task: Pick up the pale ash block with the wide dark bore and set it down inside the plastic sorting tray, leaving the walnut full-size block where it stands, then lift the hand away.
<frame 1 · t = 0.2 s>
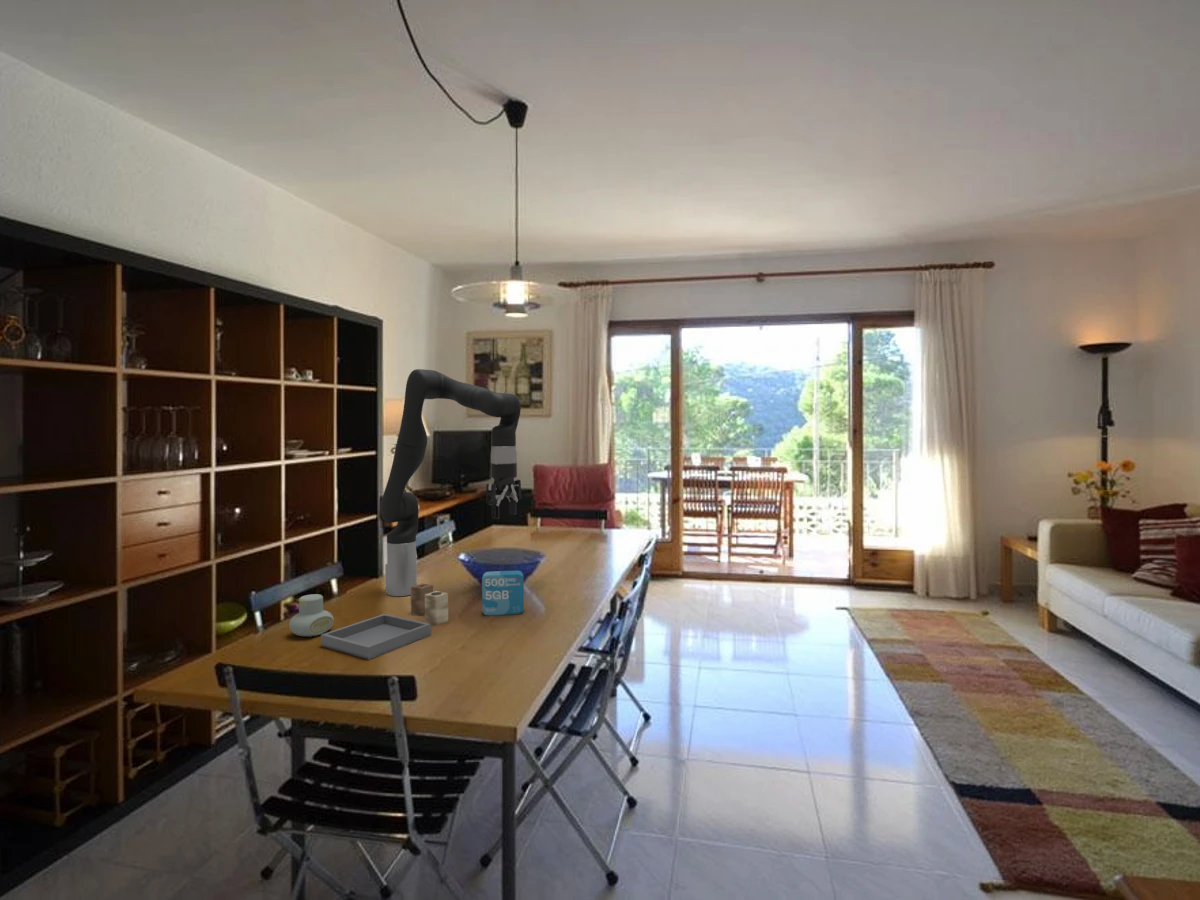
hand: (504, 516, 184), 29 cm above the table, tool pointing down, fingers open, 8 cm apart
full-size block: (422, 612, 187), on the table
sorting tray: (377, 640, 163), on the table
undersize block: (436, 621, 178), on the table
air freshener: (312, 634, 169), on the table
data package: (503, 613, 186), on the table
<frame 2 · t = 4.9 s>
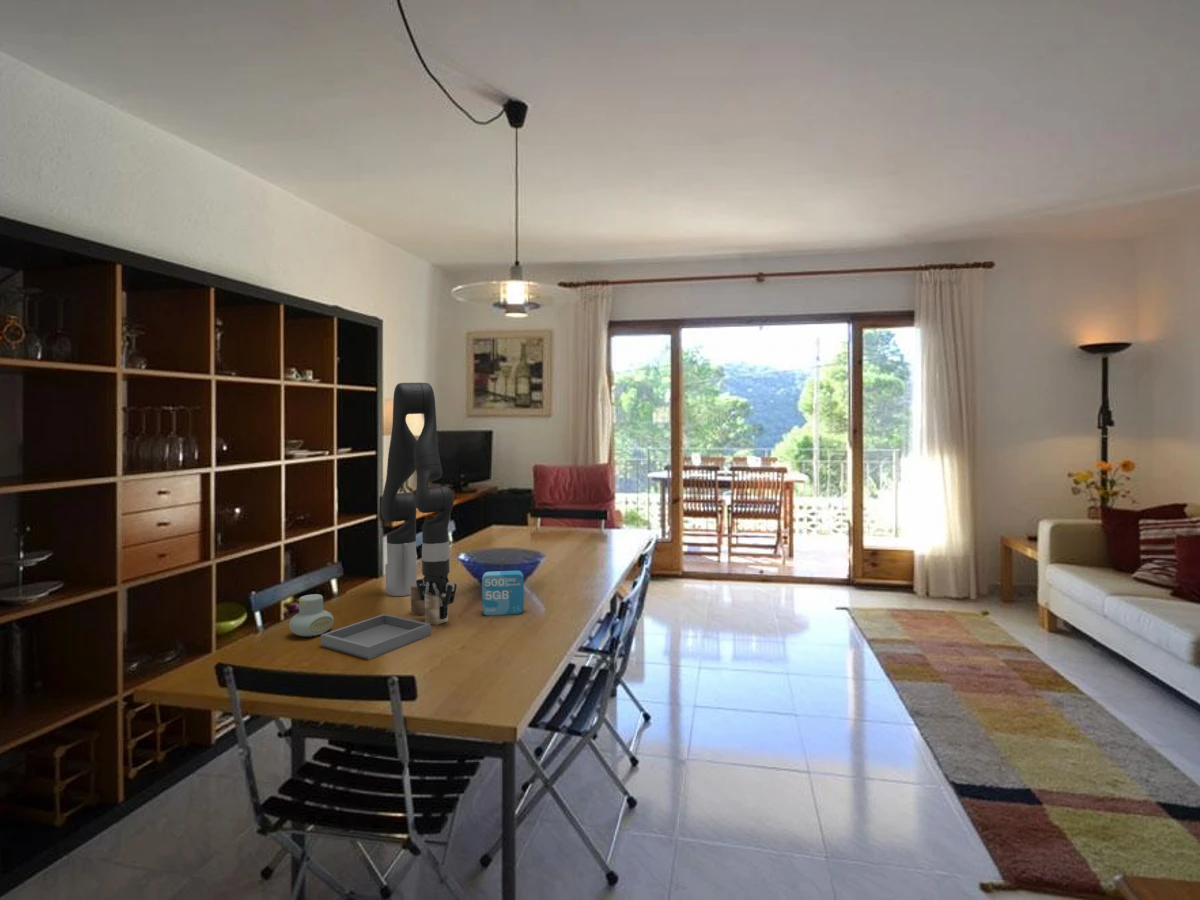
hand: (436, 616, 178), 1 cm above the table, tool pointing down, fingers closed on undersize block, 4 cm apart
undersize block: (436, 621, 178), on the table, touching gripper
everything else where it was.
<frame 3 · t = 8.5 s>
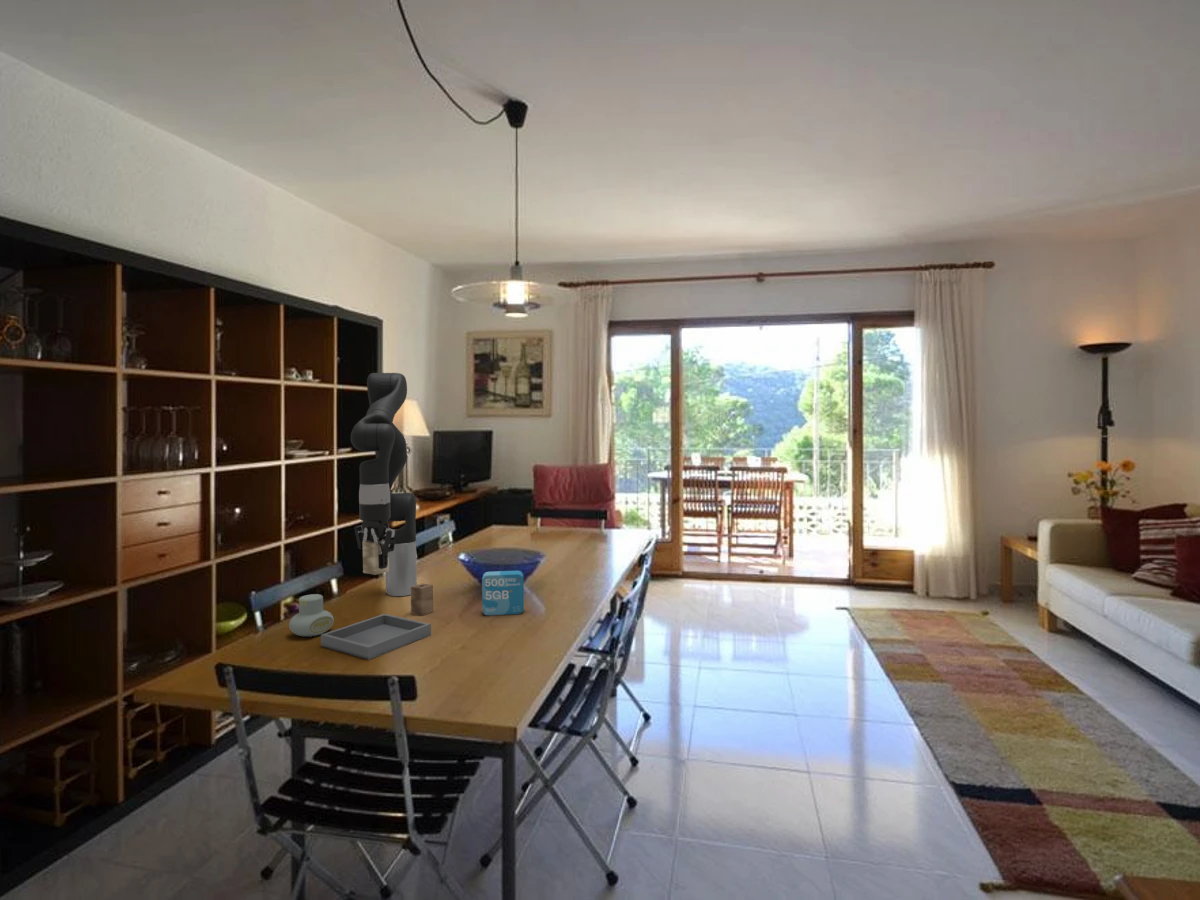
hand: (376, 566, 162), 19 cm above the table, tool pointing down, fingers closed on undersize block, 4 cm apart
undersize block: (376, 571, 162), point 18 cm above the table, touching gripper
everything else where it was.
when the fingers open (3 cm above the table, at t = 12.3 s): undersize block drops 1 cm, resting on sorting tray.
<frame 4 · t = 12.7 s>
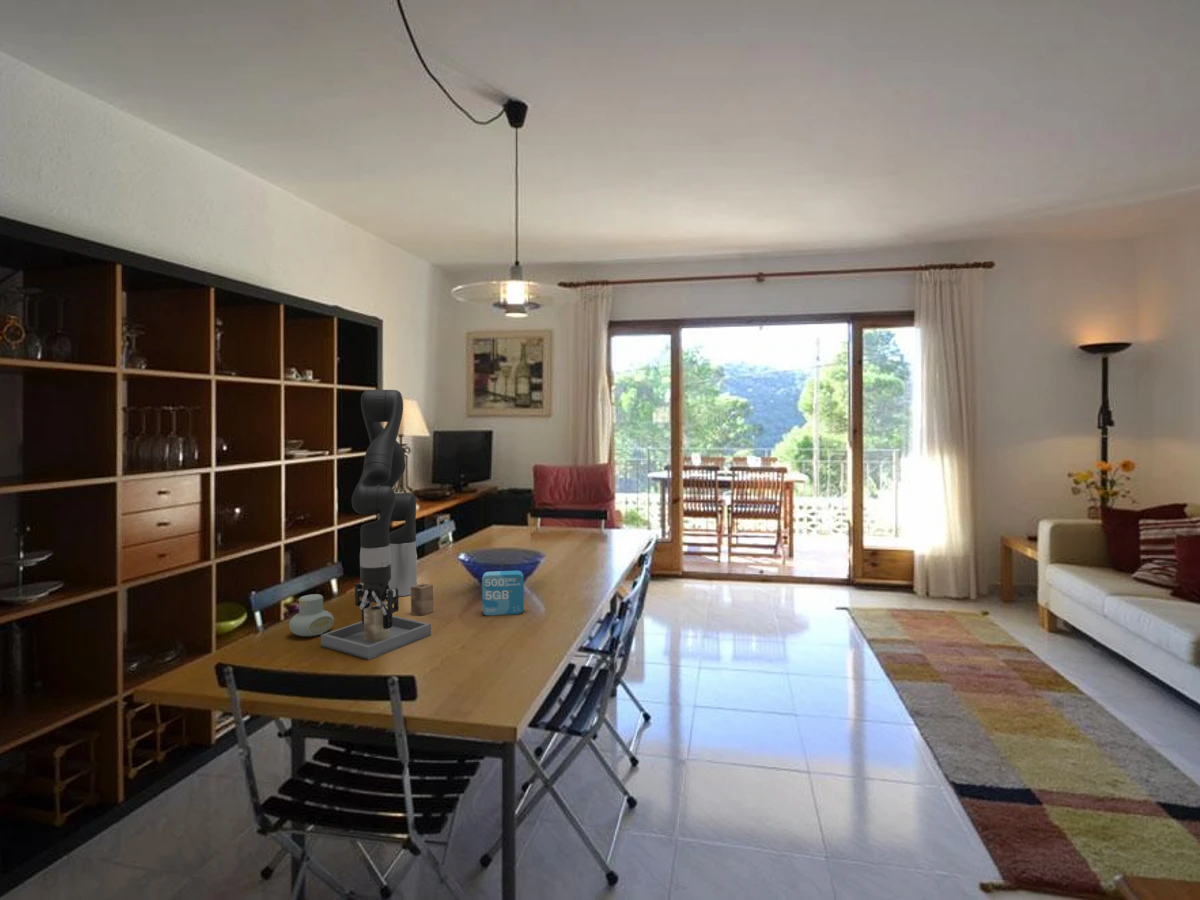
hand: (377, 625, 163), 4 cm above the table, tool pointing down, fingers open, 7 cm apart
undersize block: (377, 638, 163), point 1 cm above the table, touching sorting tray
everything else where it was.
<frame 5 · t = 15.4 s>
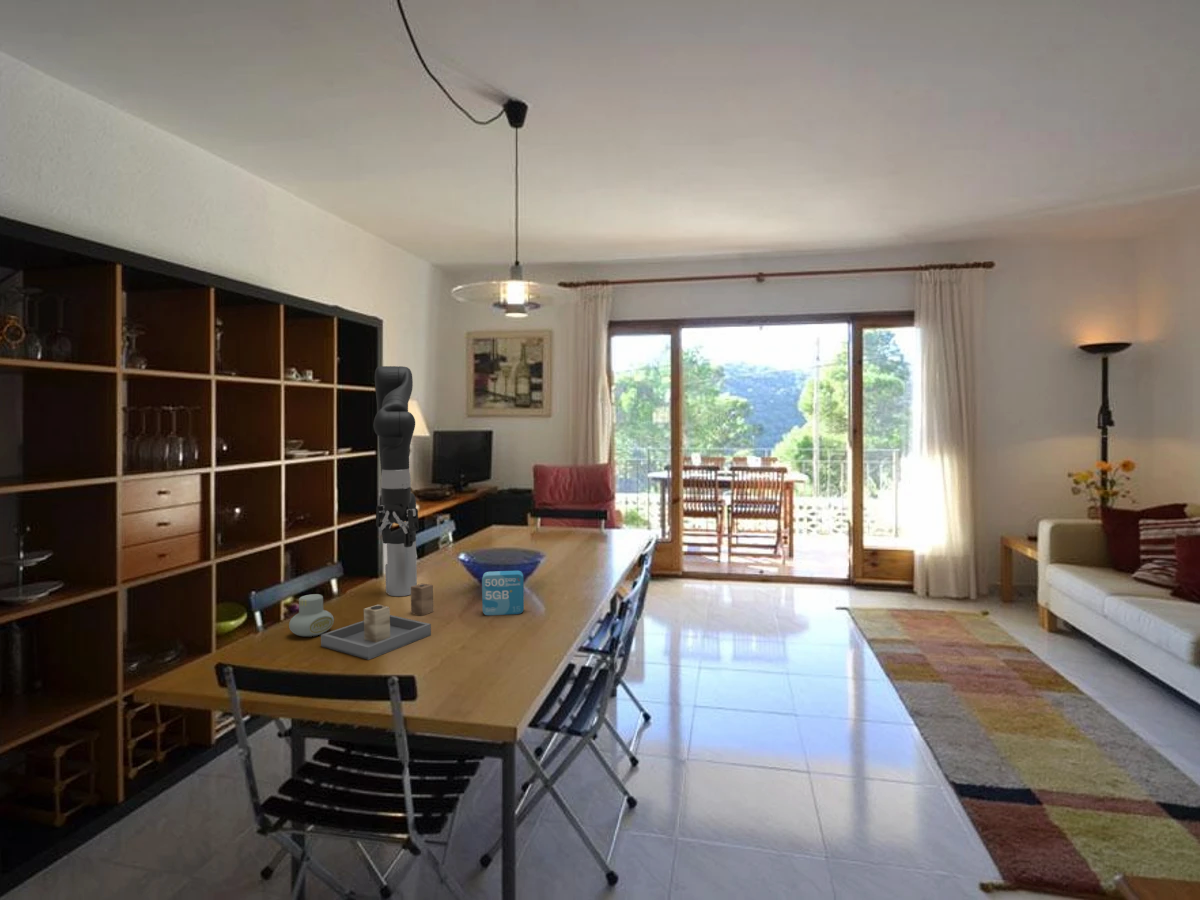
hand: (397, 544, 171), 23 cm above the table, tool pointing down, fingers open, 8 cm apart
nothing on the table moved.
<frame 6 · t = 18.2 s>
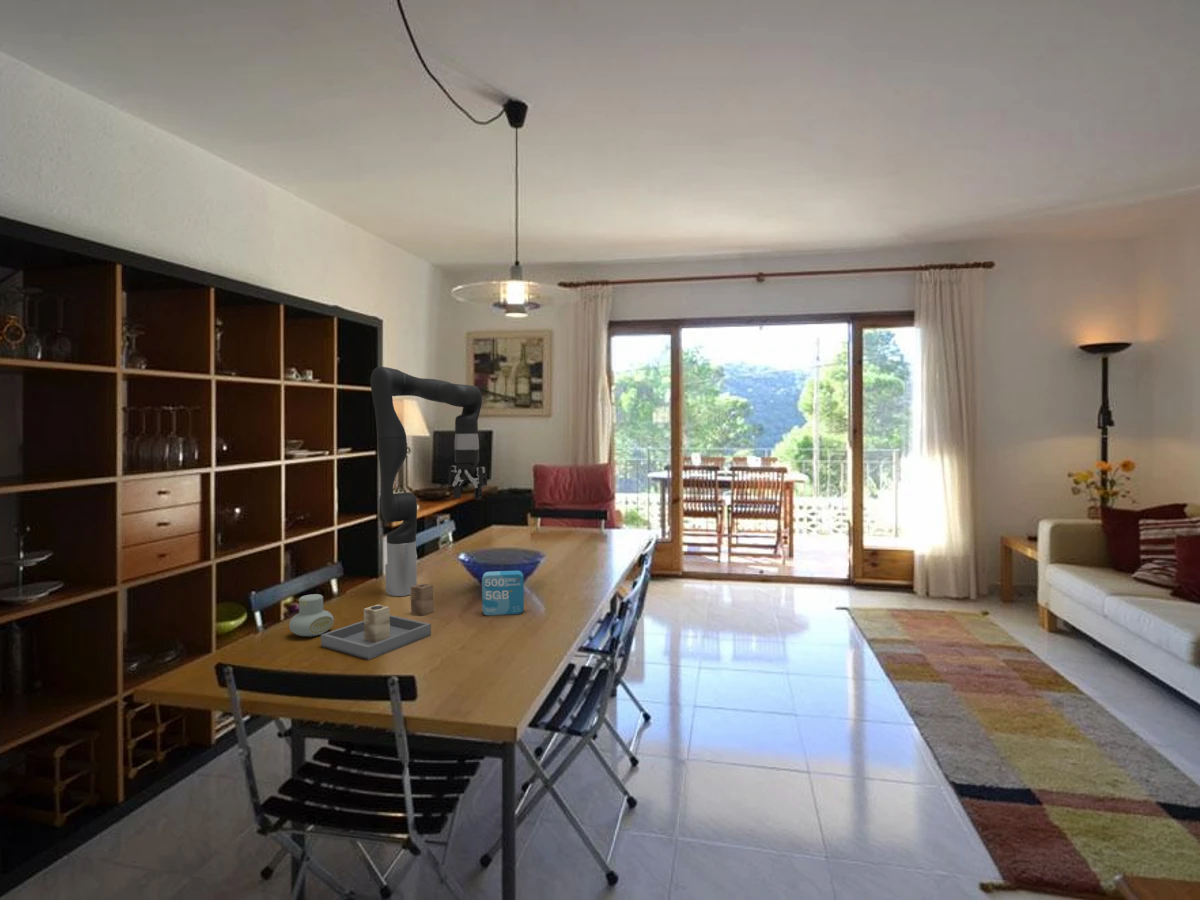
hand: (467, 498, 200), 32 cm above the table, tool pointing down, fingers open, 8 cm apart
nothing on the table moved.
at the end: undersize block inside the target area on the sorting tray (0.0 cm from its centre), point 0.6 cm above the sorting tray's base; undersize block tilted 0°; the gripper is holding nothing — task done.
